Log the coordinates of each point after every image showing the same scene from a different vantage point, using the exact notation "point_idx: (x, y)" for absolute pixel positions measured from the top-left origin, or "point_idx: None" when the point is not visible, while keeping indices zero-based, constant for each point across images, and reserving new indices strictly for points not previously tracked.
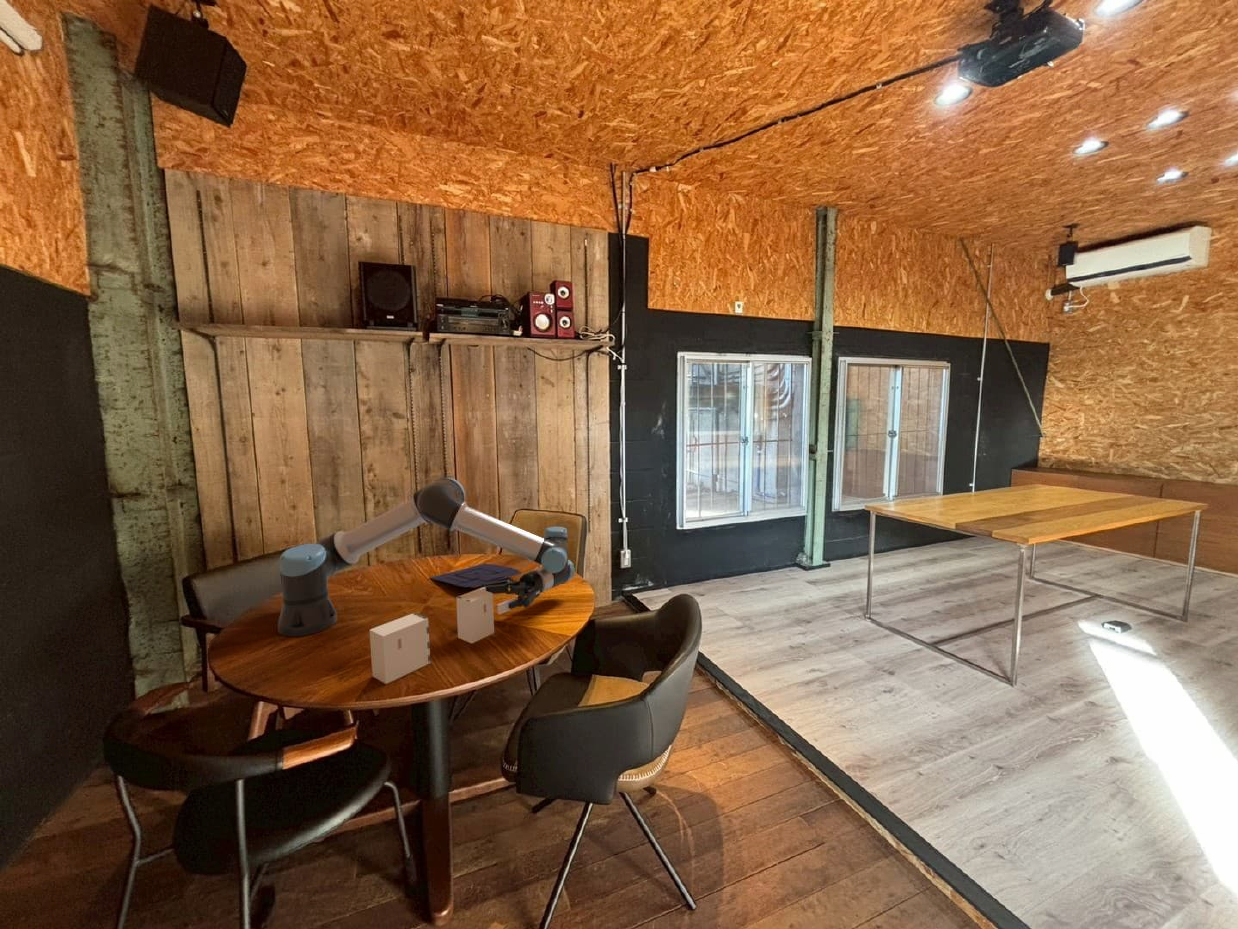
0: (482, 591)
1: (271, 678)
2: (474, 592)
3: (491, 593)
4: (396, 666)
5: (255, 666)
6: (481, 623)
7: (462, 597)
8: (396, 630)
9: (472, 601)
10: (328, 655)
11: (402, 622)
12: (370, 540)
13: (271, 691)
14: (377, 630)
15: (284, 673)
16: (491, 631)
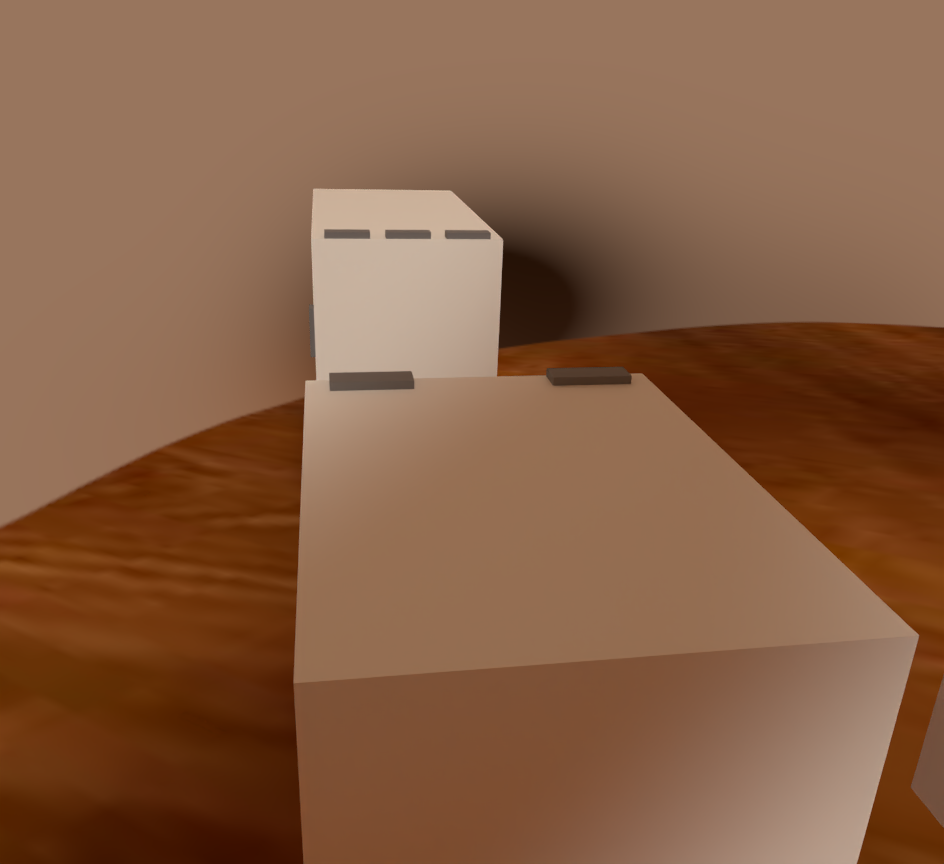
0: (645, 603)
1: (693, 347)
2: (689, 511)
3: (315, 657)
4: None
5: (822, 345)
6: None
7: (573, 391)
8: (320, 199)
9: (307, 400)
10: (796, 420)
11: (401, 213)
12: None
13: (595, 338)
14: (408, 192)
15: (709, 360)
16: None
